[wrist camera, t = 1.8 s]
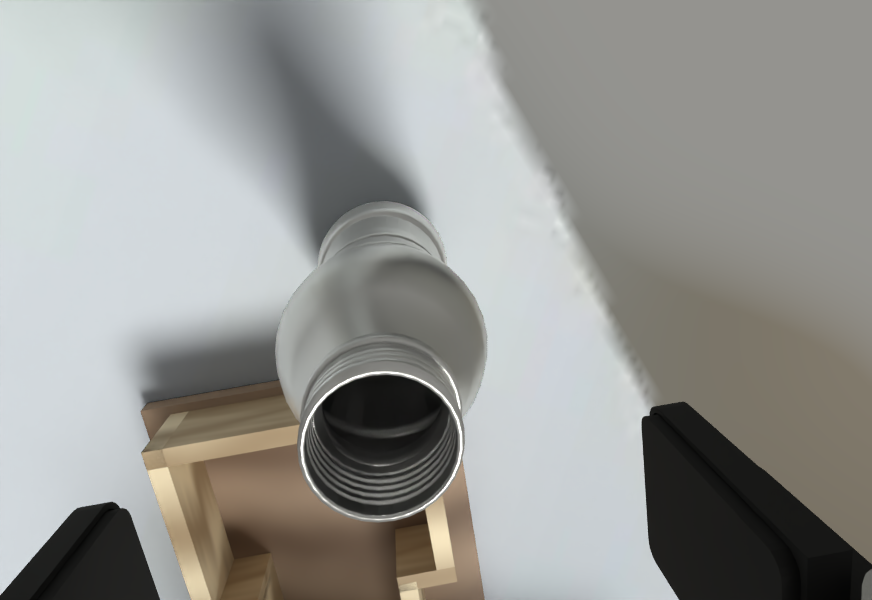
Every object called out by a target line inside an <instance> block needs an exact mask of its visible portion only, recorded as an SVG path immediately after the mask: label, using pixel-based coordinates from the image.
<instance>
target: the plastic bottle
mask: <svg viewBox="0 0 872 600" xmlns="http://www.w3.org/2000/svg"><path fill="white" fill-rule="evenodd" d="M317 267H318V268H316V269H315V270H314V271H313V272H312V273H311V274H310V275H309V276H308V277H307V278H306V279H305V280H304V281H303V283H302V284H301V285H300V286H299V287H298V288H297V290H296V291H295V292H294V293H293V295H292V297H291V299H290V300H289V302H288V304H287V306H286V308H285V309H284V311H283V314H282V317H281V321H280V324H279V327H278V330H277V337H276V347H275V357H276V366H277V374H278V377H279V380H280V384H281V387H282V390H283V393H284V396H285V399H286V402H287V404H288V405H289V407H290V409H291V411H292V412H293V414H294V416H295V418H296V419H297V420H298V421H299V422H300V425H299V430H298V439H297V450H298V459H299V465H300V468H301V471H302V474H303V477H304V479H305V481H306V483H307V484H308V486H309V488H310V489H311V491H312V492H313V493H314V494H315V495H316V496H317V498H318V499H319V500H320V501H321V502H322V503H324V504H325V505H326V506H328V507H329V508H331V509H332V510H333V511H335V512H337V513H339V514H342V515H344V516H346V517H348V518H352V519H356V520H360V521H366V522H388V521H396V520H399V519H403V518H407V517H410V516H412V515H414V514H416V513H418V512H420V511H422V510H424V509H426V508H427V507H428V506H430V505H431V504H433V503H434V502H435V501H437V500H438V499H439V498H440V497H441V496H442V495H443V494H444V493H445V492H446V490H447V489H448V488H449V486H450V485H451V483H452V482H453V480H454V479H455V477H456V475H457V472H458V470H459V468H460V465H461V462H462V457H463V452H464V444H465V435H464V425H463V418H464V417H465V415H466V414H467V412H468V411H469V409H470V408H471V406H472V405H473V403H474V401H475V398H476V396H477V393H478V391H479V388H480V386H481V383H482V379H483V375H484V370H485V365H486V360H487V332H486V328H485V323H484V318H483V315H482V313H481V310H480V308H479V306H478V303H477V301H476V299H475V297H474V296H473V294H472V293H471V291H470V290H469V289H468V287H467V286H466V284H465V283H464V281H463V280H461V279H460V277H459V276H458V275H457V274H456V273H455V272H453V271H452V270H451V269H450V268H449V267H448V266H447V257H446V253H445V248H444V244H443V242H442V240H441V238H440V235H439V233H438V232H437V230H436V229H435V227H434V226H433V225H432V223H431V222H430V221H429V220H428V219H427V218H426V217H424V216H423V215H422V214H421V213H419V212H418V211H416V210H415V209H413V208H411V207H409V206H406V205H403V204H401V203H396V202H390V201H377V202H370V203H366V204H363V205H359V206H357V207H355V208H353V209H351V210H349V211H348V212H346V213H345V214H344V215H343V216H341V217H340V218H339V219H338V220H337V221H336V222H335V223H334V224H333V226H332V227H331V228H330V229H329V231H328V233H327V234H326V236H325V238H324V240H323V242H322V245H321V248H320V252H319V257H318V266H317Z"/></svg>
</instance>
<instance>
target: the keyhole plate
mask: <svg viewBox="0 0 872 600" xmlns="http://www.w3.org/2000/svg"><path fill="white" fill-rule="evenodd" d="M141 414H142V417H143V420H144V423H145V426H146V429H147V432H148V435H149V438H150V442H149V443H148V445H147V446H146V447H145V449H144V450H143V451H142V452H141V454H142V457H143V460H144V463H145V466H146V469H147V471H148V474H149V477H150V480H151V483H152V486H153V489H154V492H155V495H156V498H157V501H158V504H159V507H160V510H161V513H162V515H163V518H164V521H165V524H166V527H167V530H168V533H169V536H170V539H171V542H172V545H173V548H174V551H175V554H176V557H177V560H178V562H179V565H180V568H181V571H182V574H183V577H184V580H185V583H186V586H187V589H188V592H189V595H190V598H191V600H485V599H484V593H483V587H482V581H481V574H480V568H479V562H478V555H477V549H476V543H475V536H474V530H473V524H472V517H471V511H470V505H469V498H468V492H467V486H466V479H465V473H464V467H463V461H462V462H461V465H460V468H459V470H458V472H457V475H456V477H455V479H454V480H453V482H452V483H451V485H450V486H449V488H448V489H447V490H446V492H445V493H444V494H443V495H442V496H441V497H440V498H439V499H438V500H437V501H435V502H434V503H433V504H431V505H430V506H428V507H427V508H426V509H424V510H422V511H420V512H418V513H416V514H414V515H412V516H410V517H407V518H403V519H399V520H396V521H388V522H366V521H360V520H356V519H352V518H348V517H346V516H344V515H342V514H339V513H337V512H335V511H333V510H332V509H331V508H329V507H328V506H326V505H325V504H324V503H322V502H321V501H320V500H319V499H318V498H317V496H316V495H315V494H314V493H313V492H312V491H311V489H310V488H309V486H308V484H307V483H306V481H305V479H304V477H303V474H302V471H301V468H300V465H299V459H298V450H297V439H298V430H299V425H300V422H299V421H298V420H297V419H296V418H295V416H294V414H293V412H292V411H291V409H290V407H289V405H288V404H287V402H286V399H285V396H284V393H283V390H282V387H281V384H280V380H276V381H270V382H265V383H259V384H253V385H248V386H242V387H236V388H230V389H225V390H219V391H213V392H208V393H202V394H196V395H191V396H185V397H179V398H173V399H168V400H162V401H156V402H151V403H147V404H146V405H145V407H144V408H143V409H142V410H141Z"/></svg>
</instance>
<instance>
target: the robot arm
mask: <svg viewBox="0 0 872 600" xmlns="http://www.w3.org/2000/svg"><path fill="white" fill-rule="evenodd" d="M642 440H643V456H644V473H645V489H646V505H647V522H648V538H649V545H650V549H651V552H652V555H653V558H654V560H655V562H656V564H657V565H658V567H659V568H660V570H661V572H662V573H663V575H664V576H665V578H666V580H667V581H668V583H669V584H670V586H671V587H672V589H673V591H674V592H675V594H676V595H677V597H678V599H679V600H872V564H871V563H869V562H868V561H867V560H866V559H865V558H864V557H863V556H861V555H860V554H859V553H858V552H857V551H856V550H855V549H853V548H852V547H851V546H850V545H849V544H848V543H847V542H846V541H844V540H843V539H842V538H841V537H840V536H839V535H838V534H836V533H835V532H834V531H833V530H832V529H831V528H830V527H828V526H827V525H826V524H825V523H824V522H823V521H822V520H820V519H819V518H818V517H817V516H816V515H815V514H814V513H813V512H811V511H810V510H809V509H808V508H807V507H806V506H804V505H803V504H802V503H801V502H800V501H799V500H798V499H797V498H795V497H794V496H793V495H792V494H791V493H790V492H789V491H787V490H786V489H785V488H784V487H783V486H782V485H781V484H780V483H778V482H777V481H776V480H775V479H774V478H773V477H772V476H770V475H769V474H768V473H767V472H766V471H765V470H763V469H762V468H760V467H759V466H757V465H756V464H755V463H754V462H753V461H752V460H751V459H750V458H748V457H747V456H746V455H745V454H744V453H743V452H742V451H740V450H739V449H738V448H737V447H736V446H735V445H734V444H732V443H731V442H730V441H729V440H728V439H727V438H726V437H725V436H723V435H722V434H721V433H720V432H719V431H718V430H717V429H716V428H714V427H713V426H712V425H711V424H710V423H709V422H708V421H707V420H705V419H704V418H703V417H702V416H701V415H700V414H699V413H697V412H696V411H695V410H694V409H693V408H692V407H691V406H689V405H688V404H687V403H685V402H678V403H672V404H667V405H661V406H655V407H652V408H651V411H650V416H645V417H643V418H642ZM0 600H160V598H159V595H158V593H157V590H156V587H155V584H154V581H153V578H152V575H151V573H150V570H149V567H148V564H147V561H146V558H145V555H144V552H143V550H142V547H141V544H140V541H139V538H138V535H137V532H136V529H135V527H134V524H133V521H132V518H131V515H130V513H129V512H128V511H127V509H124V508H122V509H120V507H119V506H118V505H117V504H116V503H113V502H108V503H102V504H97V505H91V506H85V507H80V508H77V509H76V510H74V511H73V512H72V513H71V514H70V516H69V517H68V518H67V519H66V520H65V521H64V522H63V524H62V525H61V526H60V527H59V528H58V529H57V531H56V532H55V533H54V534H53V535H52V536H51V537H50V539H49V540H48V541H47V542H46V543H45V544H44V546H43V547H42V548H41V549H40V550H39V551H38V552H37V554H36V555H35V556H34V557H33V558H32V559H31V561H30V562H29V563H28V564H27V565H26V566H25V567H24V569H23V570H22V571H21V572H20V573H19V574H18V576H17V577H16V578H15V579H14V580H13V581H12V582H11V584H10V585H9V586H8V587H7V588H6V589H5V591H4V592H3V593H2V594H1V595H0Z"/></svg>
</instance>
